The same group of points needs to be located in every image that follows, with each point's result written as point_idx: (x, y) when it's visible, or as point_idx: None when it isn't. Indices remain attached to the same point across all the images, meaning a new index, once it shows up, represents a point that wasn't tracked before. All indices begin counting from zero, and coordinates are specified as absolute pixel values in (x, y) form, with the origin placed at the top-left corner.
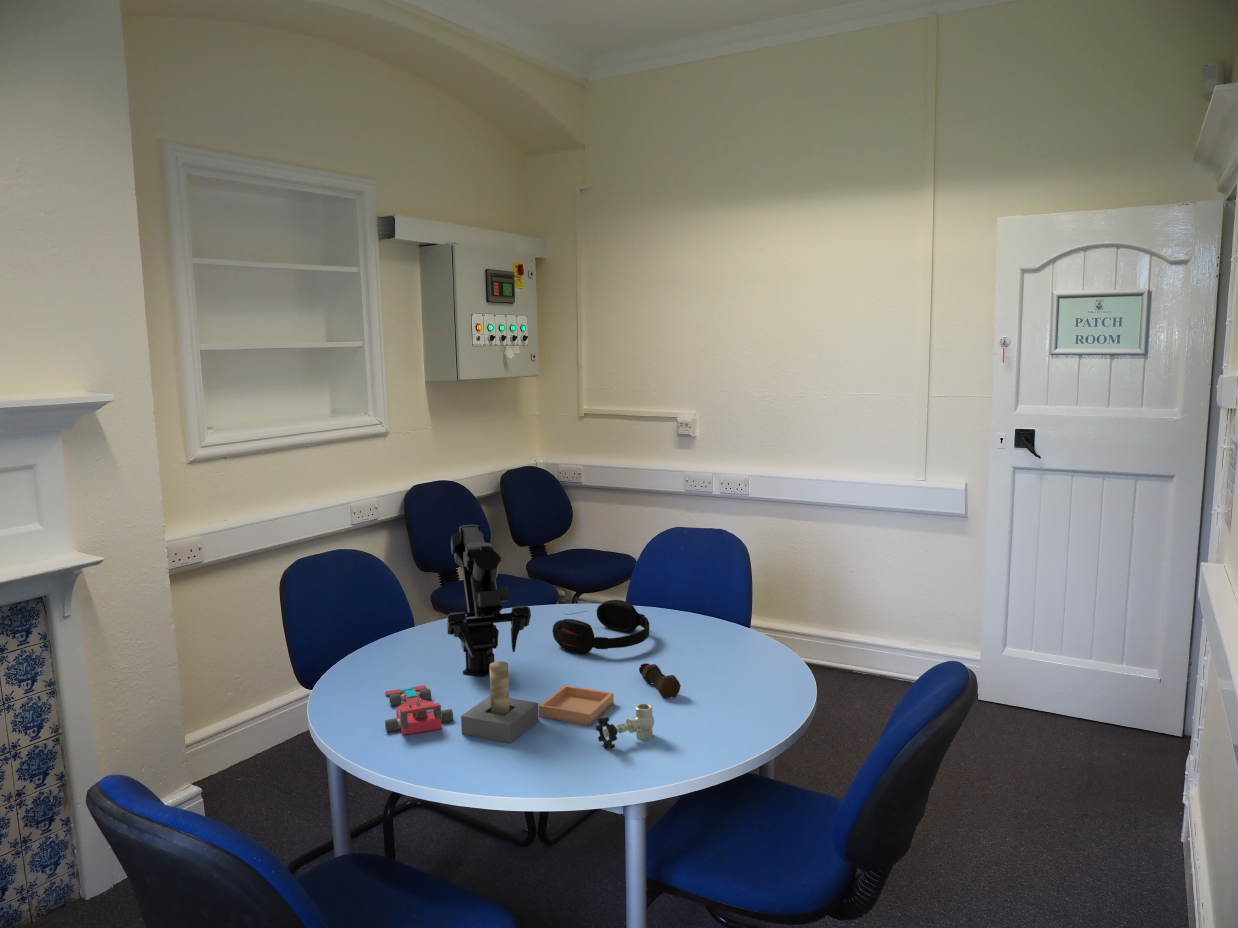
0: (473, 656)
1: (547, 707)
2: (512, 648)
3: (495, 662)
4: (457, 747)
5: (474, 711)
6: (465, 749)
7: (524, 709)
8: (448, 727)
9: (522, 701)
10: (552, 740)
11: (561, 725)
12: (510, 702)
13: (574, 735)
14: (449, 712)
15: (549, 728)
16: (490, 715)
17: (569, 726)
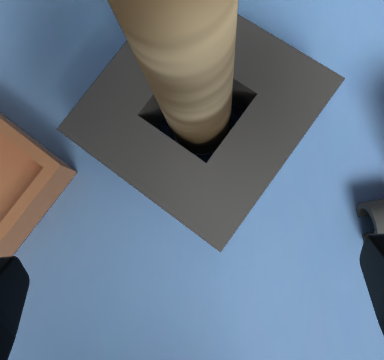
0: (361, 251)
1: (36, 146)
2: (14, 301)
3: (190, 18)
4: (335, 22)
5: (293, 106)
6: (311, 6)
7: (113, 83)
8: (369, 159)
9: (108, 153)
10: (73, 14)
11: (29, 96)
12: (153, 155)
13: (11, 30)
14: (381, 207)
15: (65, 85)
16: (236, 59)
17: (10, 85)
